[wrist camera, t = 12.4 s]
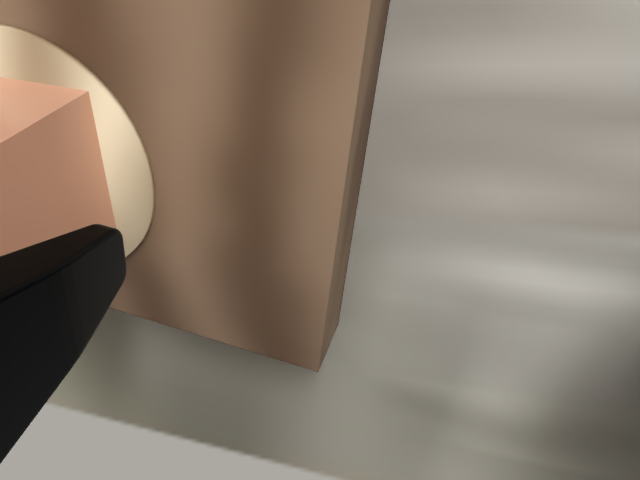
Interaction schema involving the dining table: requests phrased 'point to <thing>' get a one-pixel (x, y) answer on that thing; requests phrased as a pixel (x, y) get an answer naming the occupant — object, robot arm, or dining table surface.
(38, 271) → the robot arm
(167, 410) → the dining table surface
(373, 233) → the dining table surface
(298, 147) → the walnut board
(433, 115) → the dining table surface
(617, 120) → the dining table surface
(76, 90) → the peach colored cube
